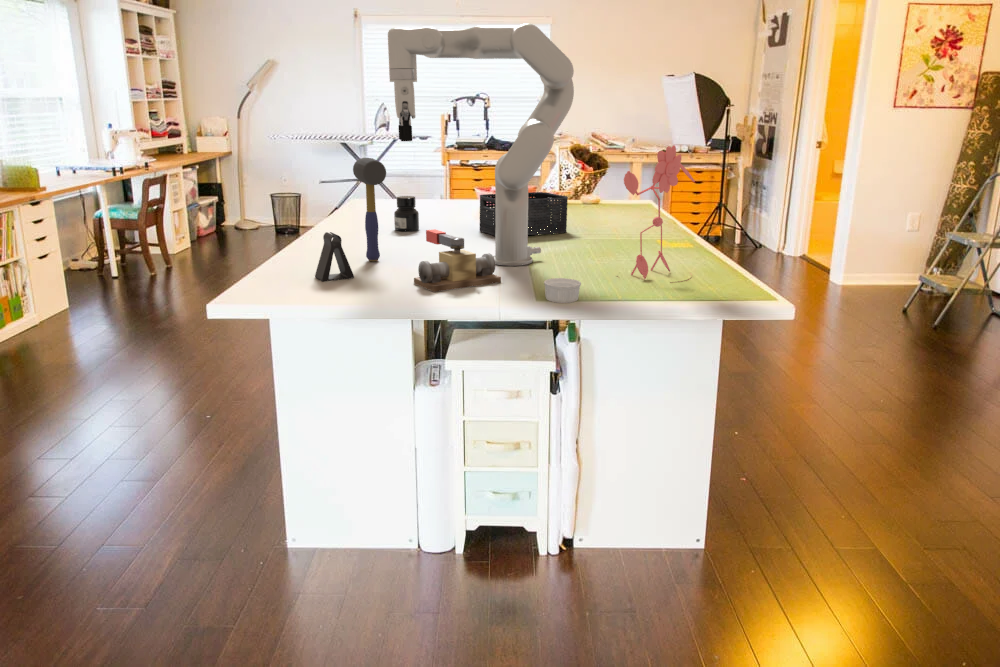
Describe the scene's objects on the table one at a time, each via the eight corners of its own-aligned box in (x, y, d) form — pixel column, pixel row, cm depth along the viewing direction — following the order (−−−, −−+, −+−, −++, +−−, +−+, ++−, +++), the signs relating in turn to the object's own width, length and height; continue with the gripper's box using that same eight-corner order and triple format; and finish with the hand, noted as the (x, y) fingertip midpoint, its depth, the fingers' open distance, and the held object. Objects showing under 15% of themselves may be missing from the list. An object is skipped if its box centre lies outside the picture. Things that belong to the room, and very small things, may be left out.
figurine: (609, 278, 208) (618, 145, 197) (665, 265, 225) (676, 142, 214) (656, 290, 197) (668, 150, 186) (711, 275, 214) (725, 146, 203)
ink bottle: (391, 228, 287) (390, 196, 283) (414, 227, 290) (413, 195, 287) (399, 232, 278) (398, 199, 275) (422, 231, 282) (421, 198, 278)
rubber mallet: (391, 263, 226) (387, 159, 217) (366, 266, 223) (361, 159, 214) (379, 256, 236) (375, 156, 228) (355, 258, 233) (350, 156, 225)
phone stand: (321, 281, 203) (318, 236, 200) (314, 277, 208) (311, 233, 205) (354, 278, 208) (352, 233, 204) (346, 273, 213) (344, 230, 209)
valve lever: (466, 249, 200) (466, 237, 199) (454, 250, 198) (454, 239, 197) (436, 240, 213) (436, 229, 212) (425, 241, 211) (424, 230, 210)
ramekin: (577, 294, 192) (578, 277, 190) (582, 304, 183) (583, 286, 182) (542, 295, 191) (542, 277, 190) (545, 304, 183) (545, 286, 181)
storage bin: (542, 225, 296) (543, 190, 292) (570, 233, 280) (571, 196, 276) (476, 231, 283) (475, 194, 279) (501, 239, 267) (501, 200, 263)
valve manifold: (479, 274, 212) (479, 242, 210) (500, 282, 204) (501, 248, 201) (414, 283, 202) (413, 249, 199) (434, 292, 193) (433, 256, 190)
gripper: (418, 75, 205) (421, 141, 210) (414, 77, 221) (416, 138, 226) (390, 75, 203) (393, 142, 208) (388, 77, 220) (391, 138, 225)
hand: (405, 140), depth 217 cm, fingers open, 9 cm apart
